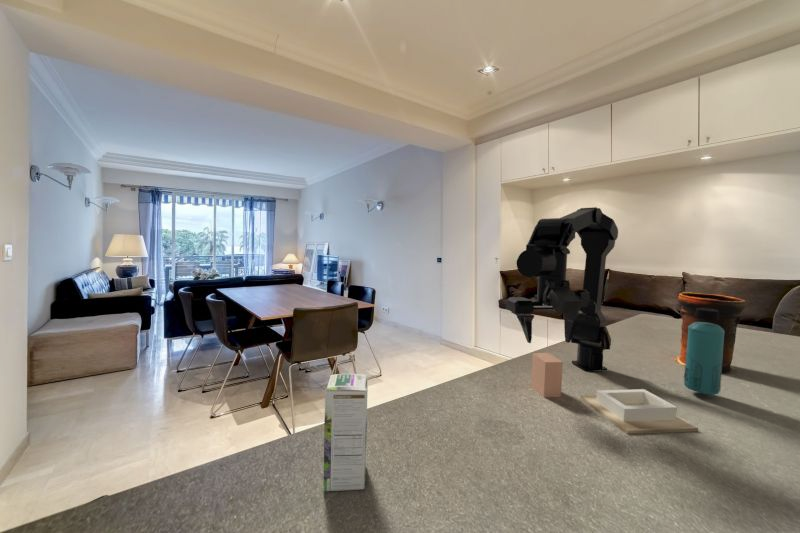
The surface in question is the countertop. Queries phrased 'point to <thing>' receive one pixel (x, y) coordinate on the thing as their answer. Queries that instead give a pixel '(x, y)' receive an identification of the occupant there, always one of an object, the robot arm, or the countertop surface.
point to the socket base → (641, 426)
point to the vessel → (712, 321)
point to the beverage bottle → (704, 354)
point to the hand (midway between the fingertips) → (548, 342)
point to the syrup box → (345, 432)
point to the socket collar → (648, 412)
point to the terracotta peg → (546, 374)
